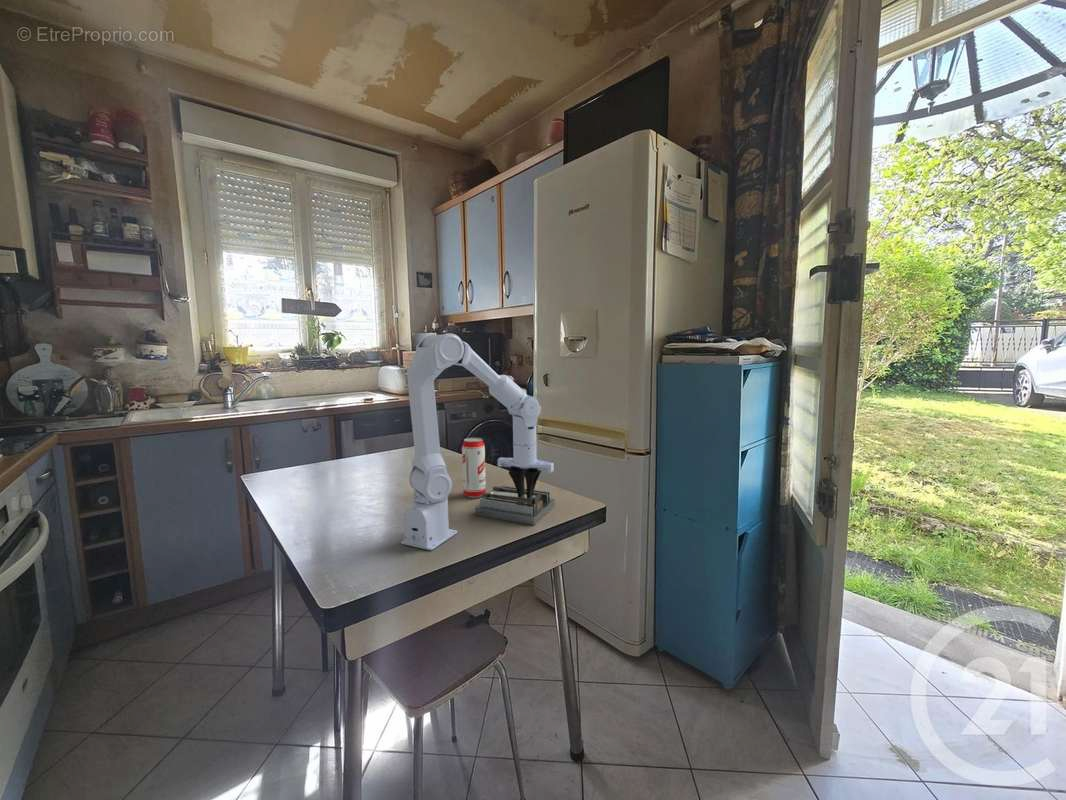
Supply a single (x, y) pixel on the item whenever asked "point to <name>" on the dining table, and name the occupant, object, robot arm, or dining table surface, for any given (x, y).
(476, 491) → the beer can
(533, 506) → the heatsink block
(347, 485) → the dining table surface
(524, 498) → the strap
